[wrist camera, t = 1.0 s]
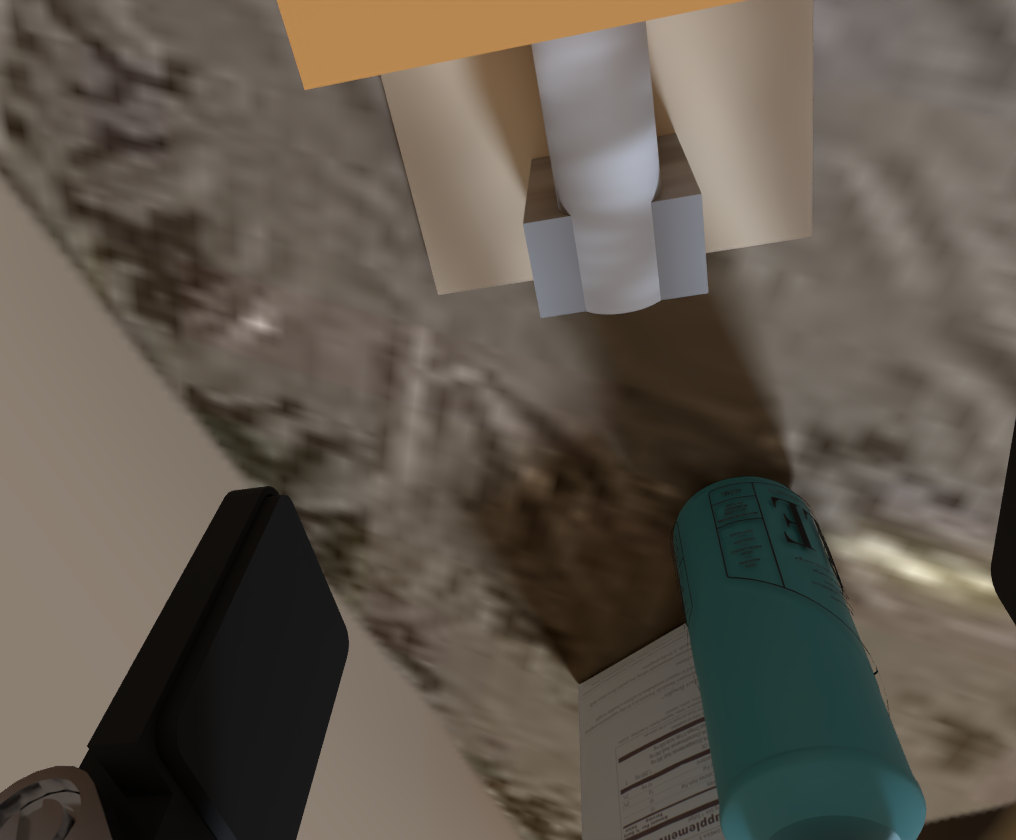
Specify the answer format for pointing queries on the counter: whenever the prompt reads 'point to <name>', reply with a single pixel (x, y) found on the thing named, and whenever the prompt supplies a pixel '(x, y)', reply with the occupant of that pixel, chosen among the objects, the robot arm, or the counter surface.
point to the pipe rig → (613, 155)
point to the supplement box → (647, 749)
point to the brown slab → (443, 30)
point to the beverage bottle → (785, 675)
